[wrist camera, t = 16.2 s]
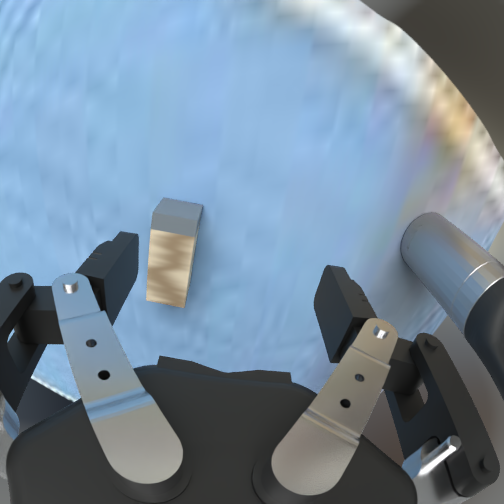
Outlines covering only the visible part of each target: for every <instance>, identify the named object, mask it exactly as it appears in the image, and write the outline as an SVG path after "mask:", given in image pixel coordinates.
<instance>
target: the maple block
mask: <svg viewBox="0 0 504 504" xmlns="http://www.w3.org/2000/svg"><path fill="white" fill-rule="evenodd" d="M202 208H203V205H200V204H195V203H189V202H184V201H178V200H173V199H167V198H163V199H162V200H161V201H160V203H159V204H158V206H157V207H156V208H155V210H154V211H153V214H152V223H151V234H150V246H149V259H148V275H147V297H146V300H147V301H152V302H157V303H162V304H167V305H172V306H177V307H182V308H185V303H186V299H187V294H188V290H189V286H190V279H191V273H192V266H193V260H194V254H195V248H196V242H197V236H198V230H199V224H200V219H201V213H202Z"/></svg>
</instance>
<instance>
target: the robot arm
mask: <svg viewBox="0 0 504 504" xmlns="http://www.w3.org/2000/svg"><path fill="white" fill-rule="evenodd" d="M138 253H139V237H138V234H135V233H128V232H122V231H121V232H119V234H118V235H117V236H116V237H115V238H114V240H113V241H106V242H104V243H102V244H100V245H98V247H97V248H96V249H95V250H94V251H93V253H92V254H91V255H90V256H89V258H87V259H86V261H85V262H84V263H83V264H82V265H81V266H80V268H79V269H78V270H77V271H76V273H68V274H64V275H61V276H59V277H58V278H56V279H55V280H54V282H53V283H52V286H34V283H33V279H32V277H31V276H30V275H29V274H26V273H14V274H11V275H9V276H7V277H6V278H4V279H3V280H2V281H1V283H0V477H2V478H4V479H6V480H8V485H9V492H10V502H11V504H460V503H462V502H464V501H465V500H467V499H469V498H471V497H472V496H474V495H476V494H477V493H479V492H480V491H482V490H483V489H485V488H486V487H488V486H489V485H491V484H492V483H494V482H495V481H496V480H497V478H498V476H499V473H500V465H499V461H498V458H497V456H496V453H495V451H494V448H493V445H492V443H491V440H490V438H489V436H488V433H487V431H486V429H485V426H484V424H483V422H482V420H481V418H480V416H479V413H478V411H477V409H476V407H475V405H474V403H473V400H472V398H471V396H470V394H469V392H468V390H467V388H466V387H465V384H464V383H463V381H462V379H461V377H460V375H459V373H458V371H457V369H456V367H455V366H454V364H453V362H452V360H451V358H450V356H449V355H448V353H447V351H446V349H445V348H444V346H443V344H442V343H441V342H440V341H439V340H438V339H437V338H436V337H434V336H432V335H430V334H427V333H420V334H418V335H417V337H416V338H415V340H414V341H413V342H411V341H408V340H405V339H401V338H398V333H397V331H396V329H395V328H394V327H393V326H392V325H391V324H390V323H388V322H386V321H384V320H382V319H378V318H377V316H376V314H375V312H374V310H373V308H372V307H371V305H370V303H369V302H368V299H367V297H366V296H365V294H364V292H363V290H362V288H361V287H360V286H359V285H358V284H357V283H356V282H355V281H354V280H351V279H350V277H349V275H348V274H347V272H346V270H345V268H343V267H338V266H331V265H327V266H326V267H325V269H324V272H323V274H322V277H321V280H320V283H319V286H318V288H317V291H316V294H315V298H314V310H315V313H316V316H317V319H318V323H319V326H320V329H321V333H322V336H323V340H324V343H325V347H326V350H327V353H328V357H329V360H330V363H339V364H338V366H337V367H336V369H335V370H334V372H333V373H332V375H331V376H330V378H329V379H328V381H327V382H326V383H325V385H324V386H323V388H322V389H321V391H320V392H319V393H318V394H316V393H315V392H313V391H312V390H310V389H308V388H306V387H304V386H302V385H299V384H296V383H293V382H292V381H291V374H290V372H277V371H265V370H254V371H243V372H231V373H225V372H221V371H218V370H215V369H212V368H209V367H206V366H203V365H201V364H198V363H195V362H192V361H187V360H181V359H175V358H170V357H164V356H159V360H158V364H157V365H148V366H142V367H137V368H134V369H133V368H132V366H131V364H130V362H129V360H128V358H127V356H126V354H125V352H124V350H123V348H122V346H121V344H120V342H119V340H118V338H117V336H116V334H115V332H114V330H113V327H112V326H113V324H114V322H115V320H116V318H117V316H118V314H119V312H120V310H121V308H122V306H123V304H124V302H125V300H126V298H127V296H128V294H129V292H130V290H131V289H132V287H133V285H134V283H135V281H136V278H137V274H138ZM401 254H402V257H403V259H404V261H405V262H406V263H407V265H408V266H409V267H410V268H411V269H412V270H413V272H414V273H415V274H416V275H417V277H418V278H419V279H420V280H421V281H422V283H423V284H424V285H425V286H426V287H427V289H428V290H429V291H430V292H431V294H432V295H433V296H434V297H435V299H436V300H437V301H438V302H439V304H440V305H441V306H442V308H443V309H444V310H445V311H446V313H447V314H448V315H449V317H450V318H451V319H452V321H453V322H454V323H455V324H456V326H457V327H458V329H459V330H460V331H461V333H462V334H463V335H464V337H465V338H466V340H467V341H468V343H469V344H470V345H471V347H472V348H473V349H474V351H475V352H476V353H477V355H478V356H479V358H480V359H481V361H482V362H483V364H484V366H485V367H486V369H487V370H488V372H489V373H490V375H491V377H492V379H493V381H494V382H495V384H496V386H497V388H498V390H499V392H500V394H501V396H502V398H503V400H504V266H503V264H501V263H500V262H499V261H498V260H497V259H495V258H494V257H493V256H492V255H491V254H490V253H489V252H487V251H486V250H485V249H484V248H483V247H481V246H480V245H479V244H478V243H476V242H475V241H474V240H473V239H471V238H470V237H469V236H468V235H466V234H465V233H464V232H463V231H461V230H460V229H459V228H457V227H456V226H455V225H453V224H452V223H451V222H449V221H448V220H447V219H445V218H444V217H442V216H441V215H440V214H437V213H427V214H424V215H421V216H419V217H418V218H417V219H415V220H414V221H413V222H412V223H411V224H410V226H409V227H408V228H407V230H406V232H405V234H404V236H403V239H402V244H401ZM13 328H14V331H15V332H14V334H13V335H12V337H11V338H10V340H9V342H8V343H7V341H8V337H9V334H10V333H11V331H12V330H13ZM47 344H64V345H65V349H66V352H67V356H68V359H69V363H70V366H71V369H72V372H73V375H74V378H75V381H76V384H77V387H78V390H79V393H80V396H81V398H80V399H79V400H77V401H75V402H74V403H72V404H70V405H69V406H67V407H65V408H63V409H62V410H60V411H58V412H56V413H55V414H53V415H51V416H49V417H48V418H46V419H44V420H43V421H41V422H39V423H37V424H35V425H34V426H32V427H30V428H28V429H27V430H25V431H23V432H22V433H20V434H19V435H18V432H19V420H18V417H17V415H16V413H15V412H16V410H17V407H18V405H19V403H20V400H21V398H22V396H23V393H24V391H25V389H26V387H27V385H28V382H29V380H30V378H31V376H32V374H33V372H34V370H35V368H36V366H37V364H38V362H39V360H40V358H41V356H42V354H43V352H44V350H45V348H46V346H47ZM423 382H424V384H425V386H426V389H427V391H428V400H427V402H426V404H425V405H424V402H423V400H422V397H421V395H420V392H419V390H418V388H419V387H420V386H421V385H422V383H423ZM382 389H384V391H385V394H386V397H387V400H388V403H389V407H390V410H391V413H392V416H393V420H394V423H395V427H396V430H397V434H398V437H399V441H400V444H401V448H402V452H403V455H404V459H405V461H404V463H403V466H402V468H401V467H400V466H399V465H398V464H397V463H395V462H394V461H393V460H392V459H391V458H389V457H388V456H387V455H386V454H385V453H383V452H382V451H381V450H380V449H379V448H377V447H376V446H375V445H374V444H373V443H371V442H370V441H369V440H368V439H367V438H366V437H365V436H364V435H362V434H361V433H362V431H363V429H364V427H365V425H366V423H367V421H368V419H369V417H370V415H371V412H372V410H373V408H374V406H375V403H376V401H377V399H378V397H379V394H380V392H381V390H382Z"/></svg>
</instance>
